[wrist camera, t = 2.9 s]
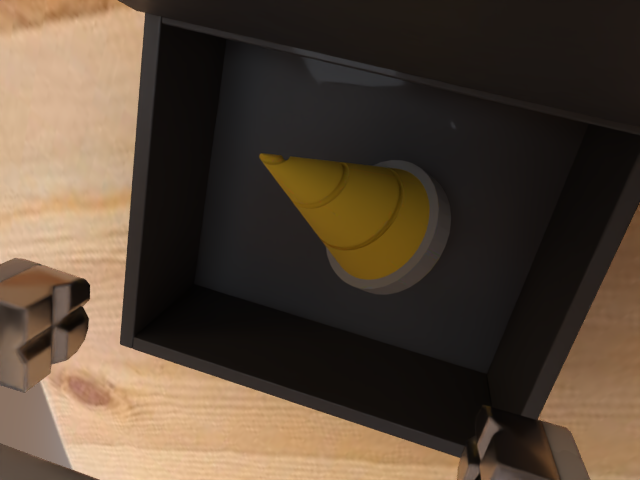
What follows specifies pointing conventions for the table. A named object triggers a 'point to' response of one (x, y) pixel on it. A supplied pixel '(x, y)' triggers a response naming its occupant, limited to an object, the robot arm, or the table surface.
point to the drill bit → (369, 217)
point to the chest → (310, 252)
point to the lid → (458, 42)
